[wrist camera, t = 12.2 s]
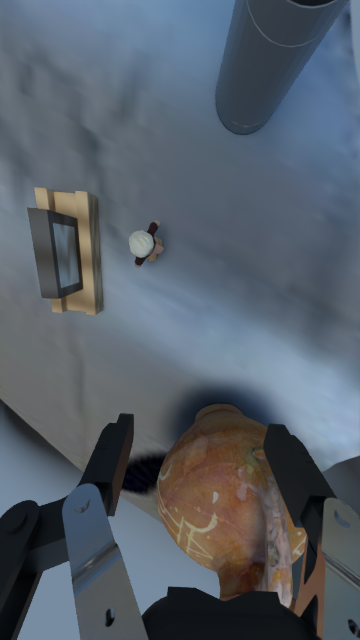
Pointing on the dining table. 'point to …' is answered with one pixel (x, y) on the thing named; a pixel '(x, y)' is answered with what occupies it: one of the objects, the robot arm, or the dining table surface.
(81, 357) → the dining table surface
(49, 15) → the dining table surface
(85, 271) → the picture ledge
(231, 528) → the jug
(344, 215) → the dining table surface
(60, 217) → the dark grey block
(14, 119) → the dining table surface
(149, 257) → the grandmother figurine
